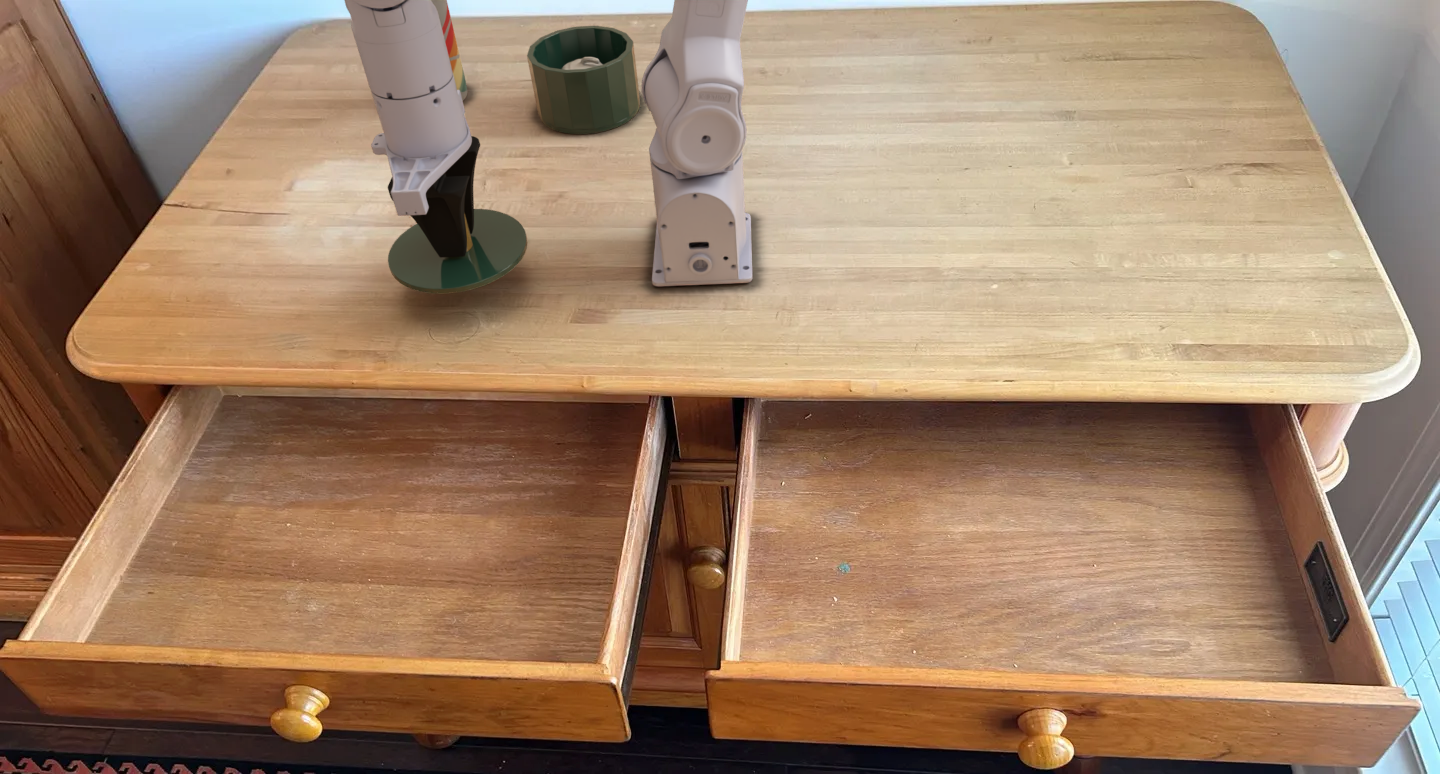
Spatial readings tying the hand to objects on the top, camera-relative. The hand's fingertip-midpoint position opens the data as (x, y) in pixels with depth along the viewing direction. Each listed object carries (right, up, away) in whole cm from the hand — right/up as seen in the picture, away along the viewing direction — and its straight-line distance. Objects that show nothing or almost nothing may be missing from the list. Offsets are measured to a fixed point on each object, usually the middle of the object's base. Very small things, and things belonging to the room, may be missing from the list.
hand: (456, 242), depth 82 cm
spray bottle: (-9, +19, +28) cm, 35 cm away
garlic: (+7, +17, +24) cm, 31 cm away
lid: (0, -1, +1) cm, 1 cm away
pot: (+7, +17, +24) cm, 31 cm away
